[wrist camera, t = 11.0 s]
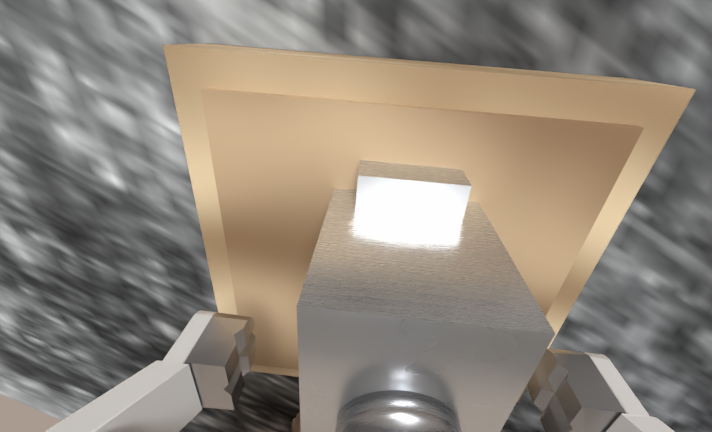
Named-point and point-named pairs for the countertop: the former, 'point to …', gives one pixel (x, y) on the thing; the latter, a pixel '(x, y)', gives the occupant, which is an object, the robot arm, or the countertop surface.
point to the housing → (413, 310)
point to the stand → (403, 162)
